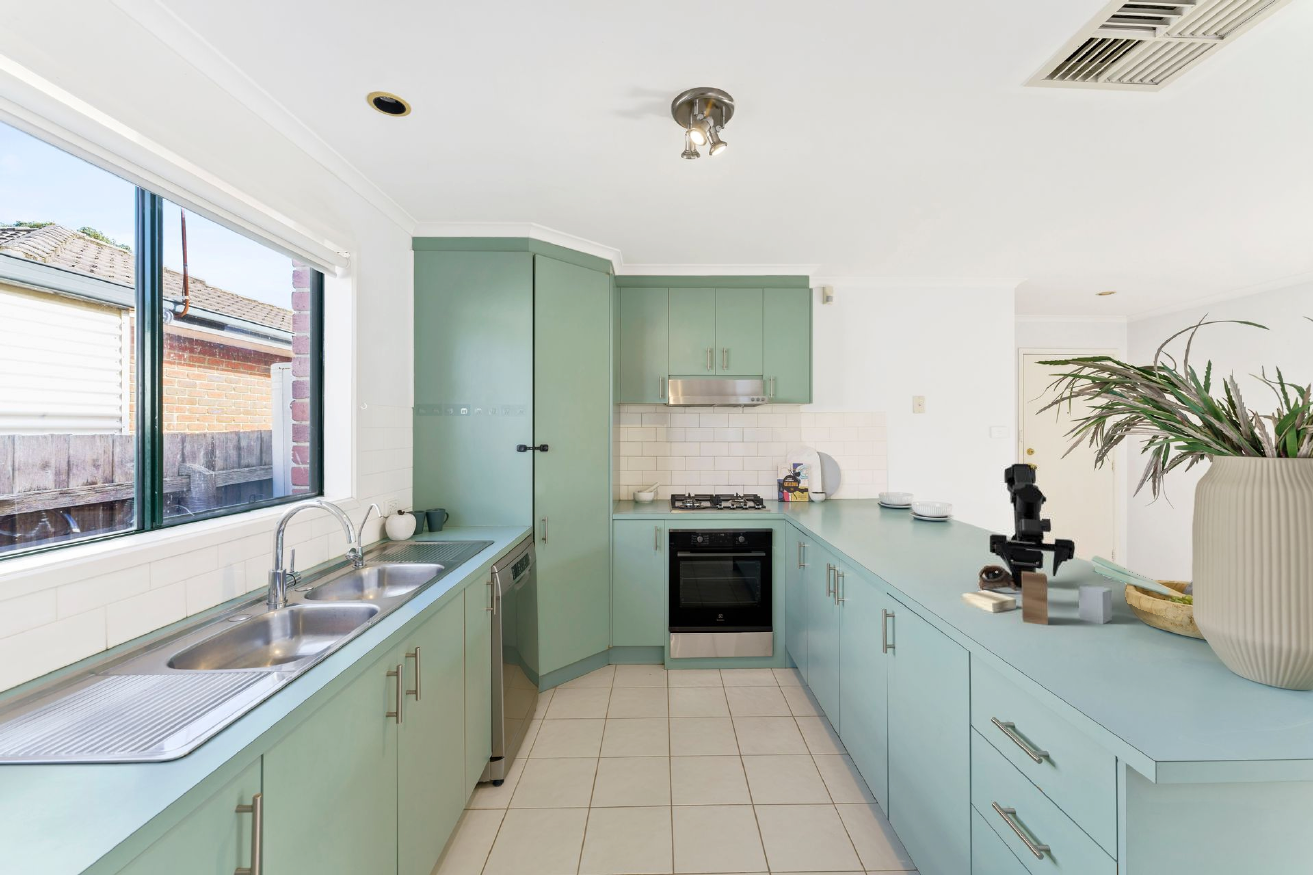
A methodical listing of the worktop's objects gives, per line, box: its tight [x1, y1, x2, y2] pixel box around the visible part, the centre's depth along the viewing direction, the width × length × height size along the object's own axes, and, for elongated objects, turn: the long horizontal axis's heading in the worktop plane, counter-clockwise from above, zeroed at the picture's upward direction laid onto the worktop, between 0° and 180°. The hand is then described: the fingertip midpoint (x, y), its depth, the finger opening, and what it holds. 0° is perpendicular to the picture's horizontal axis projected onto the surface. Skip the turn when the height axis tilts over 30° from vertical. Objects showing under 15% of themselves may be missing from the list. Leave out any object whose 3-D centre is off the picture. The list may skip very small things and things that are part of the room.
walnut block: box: [1021, 571, 1049, 626], centre depth 136 cm, size 4×5×12 cm
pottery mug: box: [978, 564, 1017, 591], centre depth 164 cm, size 12×10×8 cm
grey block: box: [1078, 584, 1113, 625], centre depth 136 cm, size 5×5×8 cm
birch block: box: [962, 589, 1017, 614], centre depth 148 cm, size 9×9×3 cm
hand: (1032, 573), depth 139 cm, fingers open, 9 cm apart
